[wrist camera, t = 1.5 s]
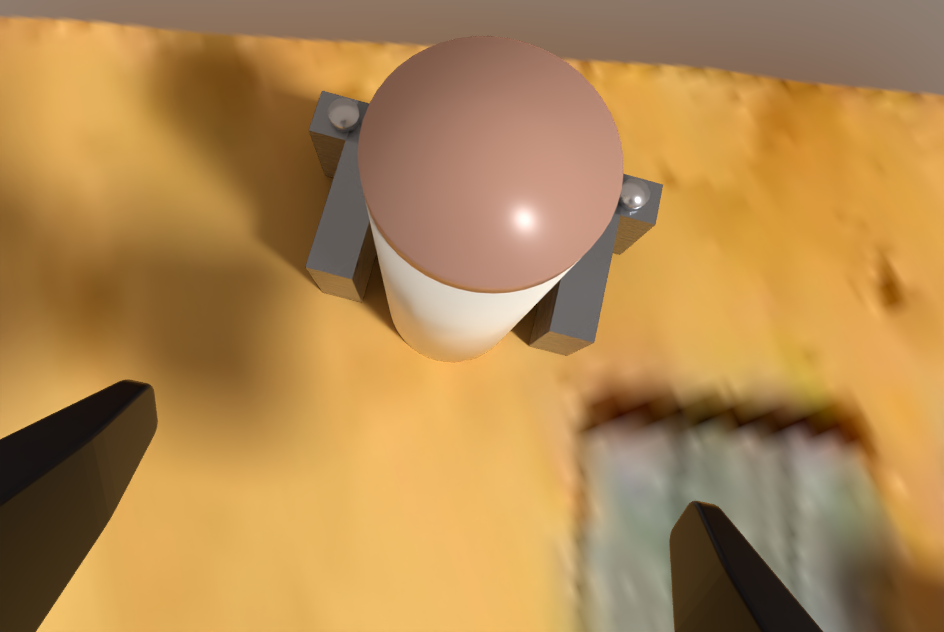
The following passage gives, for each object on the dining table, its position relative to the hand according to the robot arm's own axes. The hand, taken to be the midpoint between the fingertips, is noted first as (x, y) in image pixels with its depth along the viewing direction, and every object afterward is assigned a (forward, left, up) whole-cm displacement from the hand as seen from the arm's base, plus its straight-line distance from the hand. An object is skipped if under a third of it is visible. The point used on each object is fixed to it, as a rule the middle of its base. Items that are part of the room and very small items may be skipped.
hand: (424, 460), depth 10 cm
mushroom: (+5, 0, -12) cm, 13 cm away
